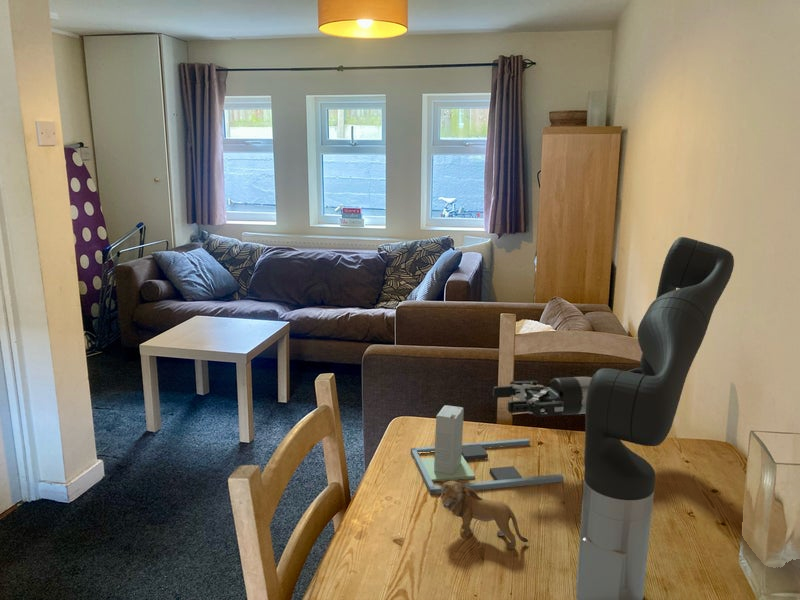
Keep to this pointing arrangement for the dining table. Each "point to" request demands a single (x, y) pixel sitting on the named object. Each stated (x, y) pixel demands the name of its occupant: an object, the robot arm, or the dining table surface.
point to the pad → (460, 473)
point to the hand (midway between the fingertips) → (500, 399)
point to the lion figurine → (478, 510)
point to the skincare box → (448, 439)
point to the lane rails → (485, 484)
